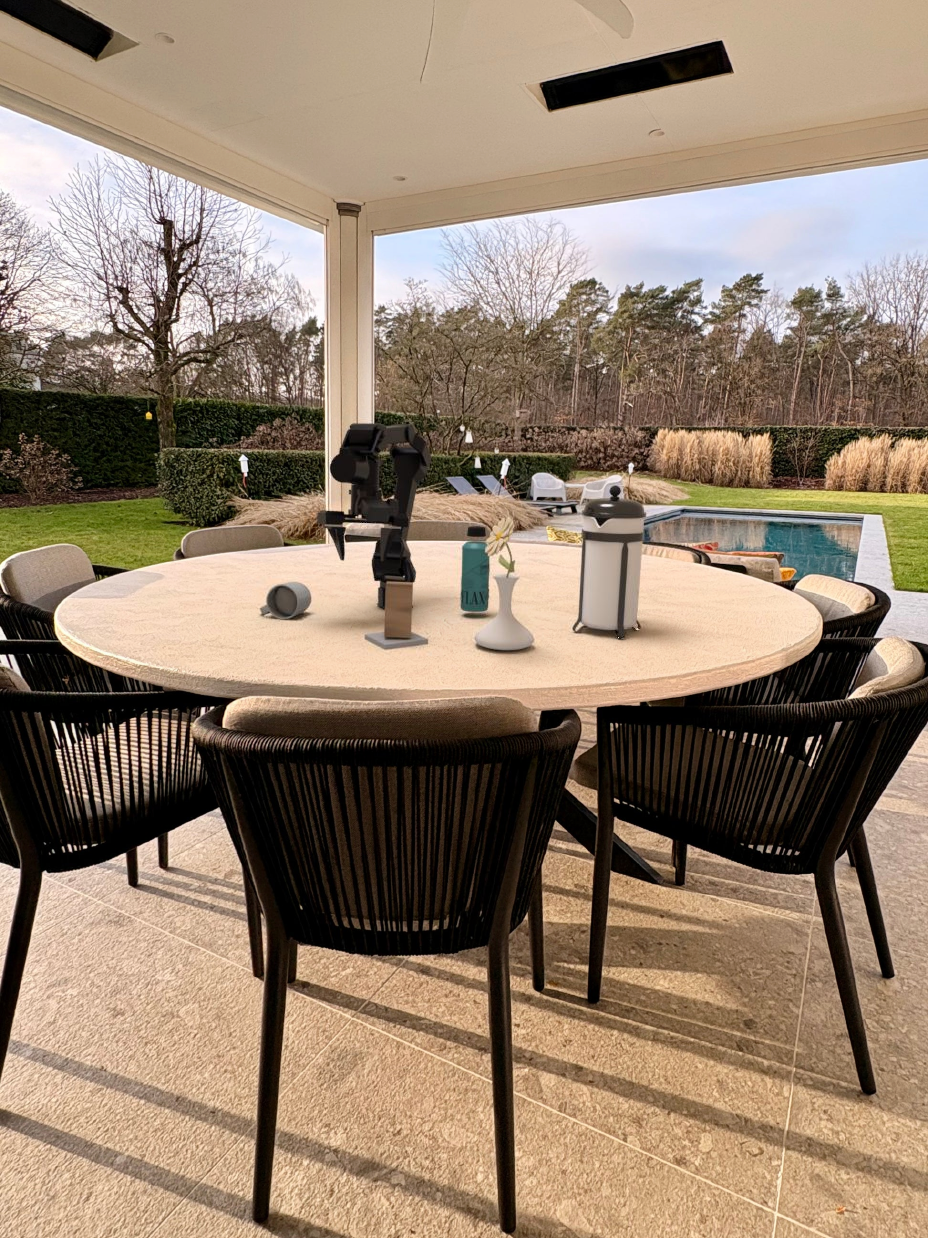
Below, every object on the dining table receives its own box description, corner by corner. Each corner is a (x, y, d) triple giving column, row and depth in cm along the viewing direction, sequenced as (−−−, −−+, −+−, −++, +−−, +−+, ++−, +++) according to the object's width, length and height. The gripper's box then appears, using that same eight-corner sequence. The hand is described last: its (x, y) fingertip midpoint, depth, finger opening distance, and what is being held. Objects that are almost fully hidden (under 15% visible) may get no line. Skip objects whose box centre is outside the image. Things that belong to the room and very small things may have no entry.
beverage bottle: (455, 617, 173) (456, 526, 168) (466, 611, 179) (468, 524, 174) (482, 620, 170) (485, 528, 166) (493, 614, 176) (495, 525, 172)
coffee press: (659, 639, 157) (671, 487, 150) (583, 640, 154) (591, 487, 147) (628, 619, 173) (637, 483, 167) (558, 621, 171) (565, 482, 164)
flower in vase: (474, 639, 154) (477, 511, 148) (532, 640, 153) (537, 513, 148) (473, 657, 141) (476, 518, 135) (536, 658, 141) (542, 519, 135)
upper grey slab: (405, 634, 156) (405, 629, 156) (427, 644, 148) (427, 638, 148) (364, 639, 151) (364, 634, 151) (385, 650, 144) (385, 644, 143)
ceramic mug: (314, 613, 174) (312, 579, 173) (299, 620, 167) (297, 585, 165) (270, 610, 177) (268, 577, 175) (253, 618, 169) (251, 583, 167)
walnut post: (385, 632, 152) (387, 581, 150) (411, 633, 152) (412, 582, 151) (384, 636, 147) (385, 584, 146) (410, 637, 147) (412, 585, 146)
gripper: (336, 482, 150) (334, 563, 152) (423, 487, 159) (420, 564, 161) (316, 482, 159) (315, 559, 161) (399, 487, 169) (396, 559, 171)
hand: (362, 560), depth 163 cm, fingers open, 9 cm apart
